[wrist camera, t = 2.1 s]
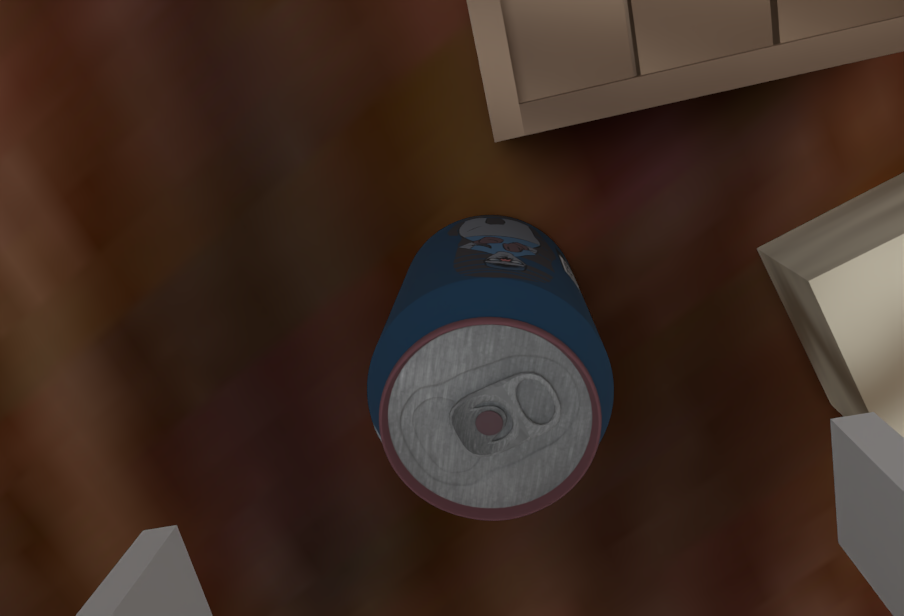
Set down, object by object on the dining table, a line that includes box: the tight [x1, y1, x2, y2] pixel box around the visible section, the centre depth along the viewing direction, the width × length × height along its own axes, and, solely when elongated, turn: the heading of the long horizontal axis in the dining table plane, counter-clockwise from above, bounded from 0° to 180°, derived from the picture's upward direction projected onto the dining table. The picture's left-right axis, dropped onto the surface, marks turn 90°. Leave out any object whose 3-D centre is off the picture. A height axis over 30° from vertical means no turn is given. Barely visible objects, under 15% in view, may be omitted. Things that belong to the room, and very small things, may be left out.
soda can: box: [367, 215, 614, 521], centre depth 23 cm, size 7×7×12 cm
